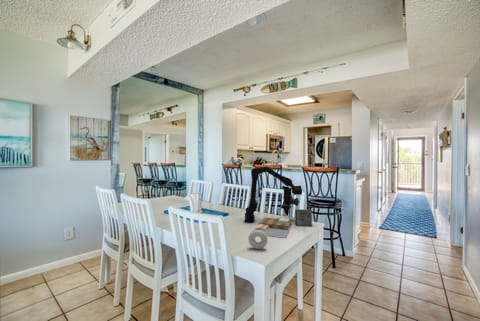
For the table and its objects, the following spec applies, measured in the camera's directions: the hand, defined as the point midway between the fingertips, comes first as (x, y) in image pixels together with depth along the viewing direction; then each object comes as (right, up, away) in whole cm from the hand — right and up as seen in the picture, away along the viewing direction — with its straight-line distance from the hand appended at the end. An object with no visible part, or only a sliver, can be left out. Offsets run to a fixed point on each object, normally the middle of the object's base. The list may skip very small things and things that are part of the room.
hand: (287, 215), depth 170 cm
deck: (-10, -4, -11) cm, 16 cm away
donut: (-26, -5, -50) cm, 56 cm away
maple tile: (-20, -4, -19) cm, 28 cm away
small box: (+10, -5, -9) cm, 14 cm away
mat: (-16, -5, -25) cm, 30 cm away
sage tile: (-5, -1, -12) cm, 13 cm away
